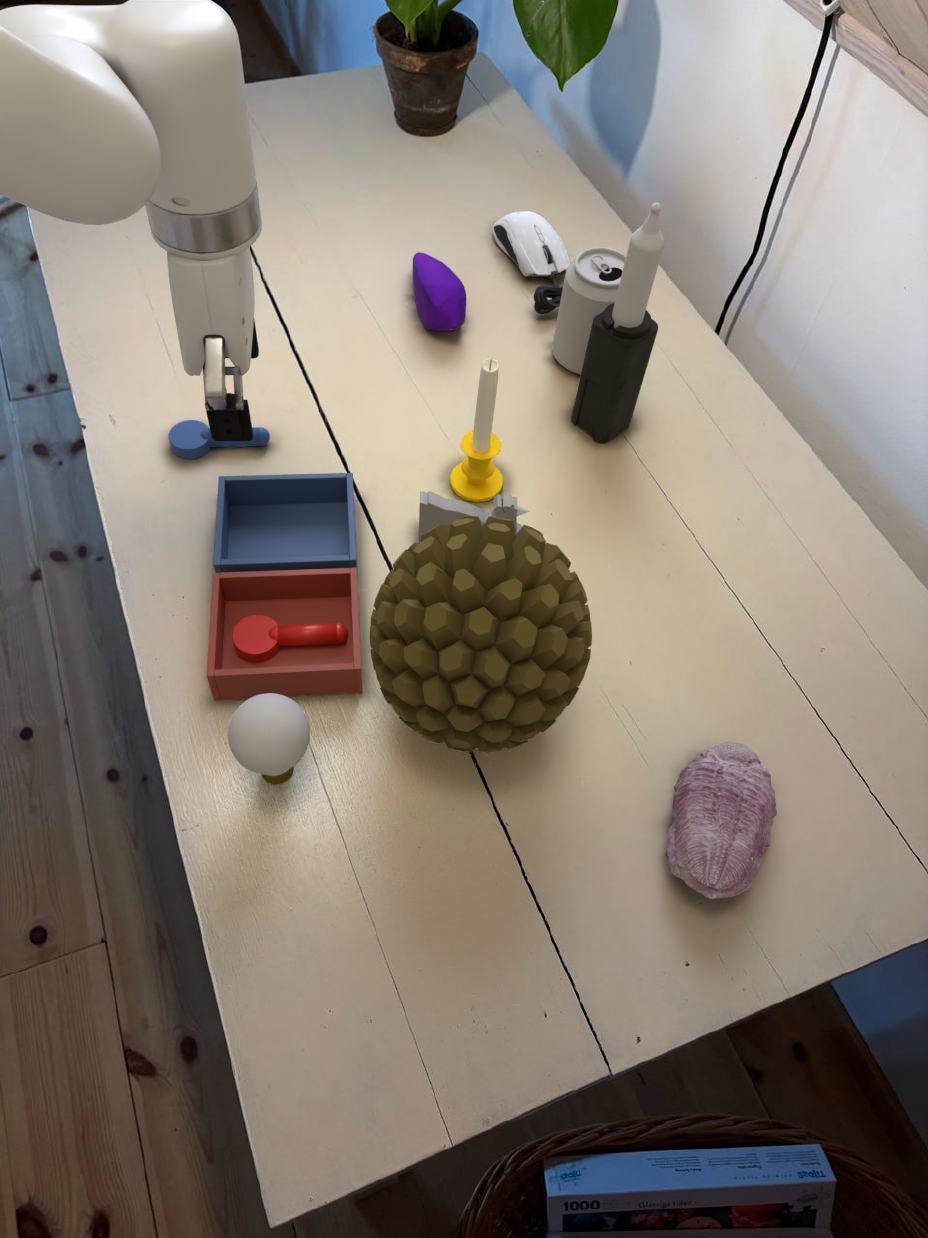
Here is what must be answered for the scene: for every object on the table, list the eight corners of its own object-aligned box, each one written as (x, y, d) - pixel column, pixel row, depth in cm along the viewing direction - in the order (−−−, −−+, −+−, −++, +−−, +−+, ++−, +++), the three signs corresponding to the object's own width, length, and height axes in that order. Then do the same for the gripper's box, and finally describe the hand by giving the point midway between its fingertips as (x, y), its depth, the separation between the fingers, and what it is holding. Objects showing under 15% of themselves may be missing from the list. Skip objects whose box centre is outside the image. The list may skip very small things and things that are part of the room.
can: (583, 390, 102) (604, 296, 92) (536, 351, 105) (553, 257, 95) (631, 362, 105) (657, 269, 95) (585, 326, 108) (605, 232, 98)
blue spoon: (271, 428, 95) (269, 415, 94) (270, 457, 93) (268, 444, 92) (172, 430, 94) (169, 417, 93) (169, 459, 92) (166, 446, 91)
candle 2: (566, 418, 99) (614, 199, 78) (599, 397, 101) (654, 178, 80) (601, 446, 97) (660, 228, 76) (634, 424, 99) (699, 206, 79)
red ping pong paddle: (347, 619, 83) (347, 607, 81) (349, 658, 80) (348, 647, 79) (234, 624, 82) (232, 612, 80) (233, 664, 79) (230, 652, 78)
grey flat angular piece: (419, 530, 90) (523, 535, 90) (418, 542, 89) (524, 546, 89) (420, 490, 85) (530, 495, 85) (419, 502, 84) (531, 506, 84)
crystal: (436, 232, 109) (477, 302, 100) (436, 271, 113) (475, 342, 104) (396, 237, 108) (434, 308, 99) (397, 276, 112) (433, 348, 103)
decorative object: (394, 599, 85) (396, 441, 68) (579, 633, 84) (627, 482, 68) (349, 767, 75) (340, 632, 59) (557, 807, 75) (607, 682, 58)
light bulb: (326, 752, 76) (319, 691, 68) (299, 818, 73) (288, 763, 65) (258, 731, 77) (243, 668, 68) (227, 795, 73) (208, 738, 65)
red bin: (213, 700, 78) (206, 676, 75) (219, 599, 83) (212, 572, 80) (362, 693, 79) (361, 668, 76) (358, 593, 85) (356, 567, 82)
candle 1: (501, 505, 92) (520, 383, 79) (448, 500, 92) (458, 377, 79) (503, 465, 95) (522, 341, 82) (451, 460, 95) (462, 336, 82)
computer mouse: (537, 215, 119) (541, 185, 116) (612, 302, 110) (619, 273, 107) (466, 232, 116) (469, 202, 113) (538, 323, 107) (543, 293, 104)
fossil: (641, 890, 72) (657, 866, 67) (685, 736, 79) (701, 706, 75) (746, 931, 70) (769, 909, 66) (780, 771, 78) (802, 742, 74)
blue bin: (219, 592, 84) (213, 565, 81) (224, 504, 90) (218, 475, 86) (357, 586, 85) (356, 559, 82) (353, 500, 91) (352, 472, 88)
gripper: (160, 135, 69) (199, 326, 83) (131, 288, 59) (181, 474, 73) (265, 138, 69) (286, 327, 83) (253, 289, 60) (279, 473, 74)
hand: (236, 395), depth 78 cm, fingers open, 9 cm apart
